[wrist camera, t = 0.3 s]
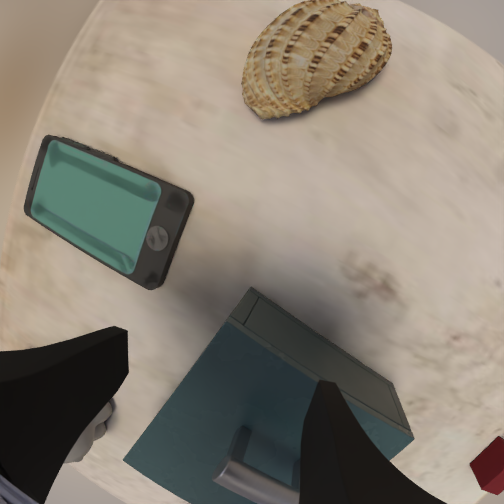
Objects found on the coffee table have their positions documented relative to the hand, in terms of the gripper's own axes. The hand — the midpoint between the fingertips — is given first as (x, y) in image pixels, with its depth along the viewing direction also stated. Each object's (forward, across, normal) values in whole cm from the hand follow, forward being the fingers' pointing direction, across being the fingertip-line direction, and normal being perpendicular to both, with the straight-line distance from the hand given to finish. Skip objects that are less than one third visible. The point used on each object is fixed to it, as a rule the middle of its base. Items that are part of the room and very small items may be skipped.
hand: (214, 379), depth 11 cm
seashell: (+12, -1, -15) cm, 19 cm away
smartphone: (+11, +13, -3) cm, 18 cm away
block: (+9, -26, +13) cm, 31 cm away
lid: (+4, -2, +9) cm, 10 cm away
